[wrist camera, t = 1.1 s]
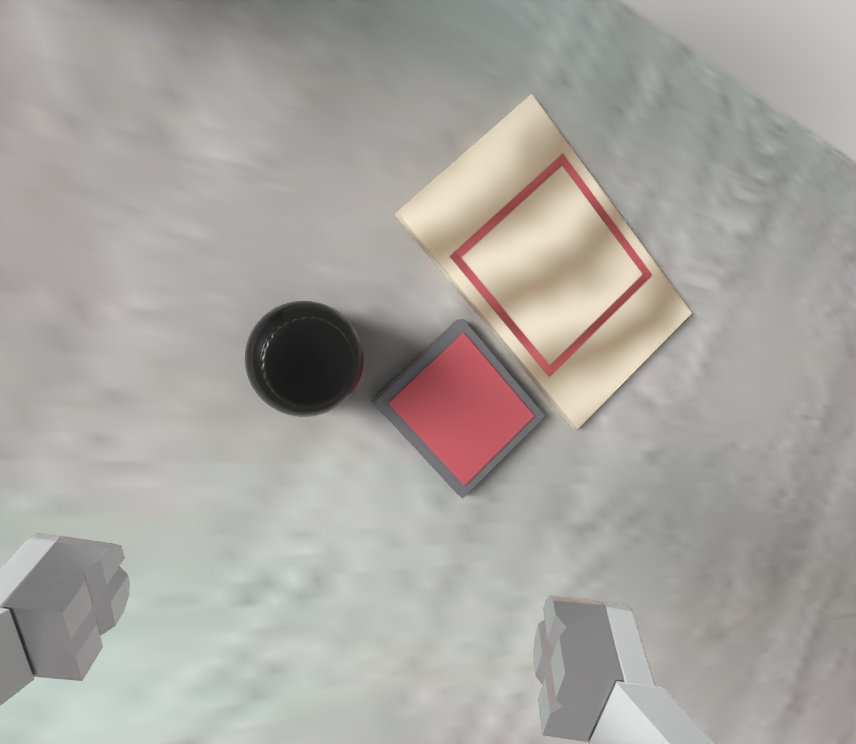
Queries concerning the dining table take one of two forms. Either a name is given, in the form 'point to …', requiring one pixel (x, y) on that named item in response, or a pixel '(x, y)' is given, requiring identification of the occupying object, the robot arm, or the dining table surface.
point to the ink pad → (459, 407)
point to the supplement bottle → (304, 358)
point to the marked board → (546, 261)
